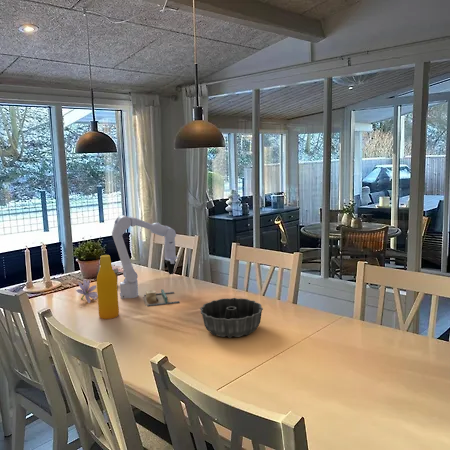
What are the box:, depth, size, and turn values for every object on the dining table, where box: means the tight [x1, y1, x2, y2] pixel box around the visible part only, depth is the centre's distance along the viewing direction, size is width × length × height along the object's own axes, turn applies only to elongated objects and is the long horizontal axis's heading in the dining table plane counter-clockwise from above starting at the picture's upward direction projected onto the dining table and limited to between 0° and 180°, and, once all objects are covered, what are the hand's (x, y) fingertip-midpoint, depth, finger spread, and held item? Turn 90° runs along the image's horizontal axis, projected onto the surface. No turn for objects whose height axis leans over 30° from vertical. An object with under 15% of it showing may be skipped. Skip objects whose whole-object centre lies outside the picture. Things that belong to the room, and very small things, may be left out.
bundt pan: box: [199, 297, 264, 339], centre depth 186 cm, size 26×26×10 cm
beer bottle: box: [96, 254, 120, 320], centre depth 204 cm, size 9×9×29 cm
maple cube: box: [145, 290, 156, 302], centre depth 225 cm, size 4×4×4 cm
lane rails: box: [143, 291, 180, 307], centre depth 227 cm, size 16×18×2 cm
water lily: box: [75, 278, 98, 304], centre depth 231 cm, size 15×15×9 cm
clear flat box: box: [142, 288, 168, 307], centre depth 226 cm, size 11×15×4 cm
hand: (171, 273), depth 240 cm, fingers closed
